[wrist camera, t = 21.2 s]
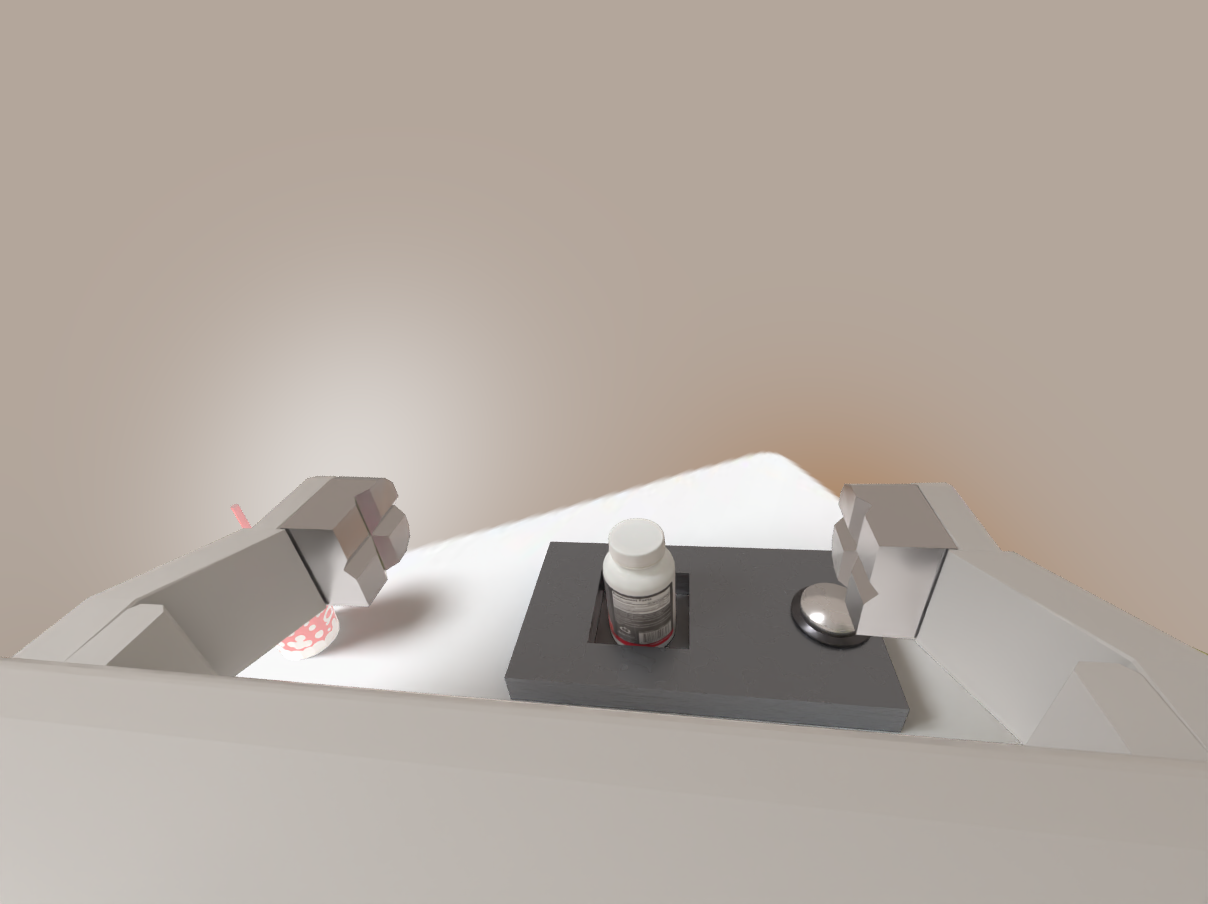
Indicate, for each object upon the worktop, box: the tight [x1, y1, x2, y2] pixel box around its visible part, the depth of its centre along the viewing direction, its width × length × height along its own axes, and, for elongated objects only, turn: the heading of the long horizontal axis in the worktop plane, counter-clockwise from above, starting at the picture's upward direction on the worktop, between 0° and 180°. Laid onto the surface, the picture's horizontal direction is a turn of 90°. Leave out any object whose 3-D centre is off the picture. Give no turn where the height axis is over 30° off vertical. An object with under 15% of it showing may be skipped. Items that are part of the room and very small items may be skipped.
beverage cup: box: [231, 504, 339, 660], centre depth 39 cm, size 6×6×14 cm
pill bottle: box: [603, 518, 676, 648], centre depth 39 cm, size 5×5×10 cm
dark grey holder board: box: [505, 542, 910, 732], centre depth 39 cm, size 26×14×4 cm, turn 82°
